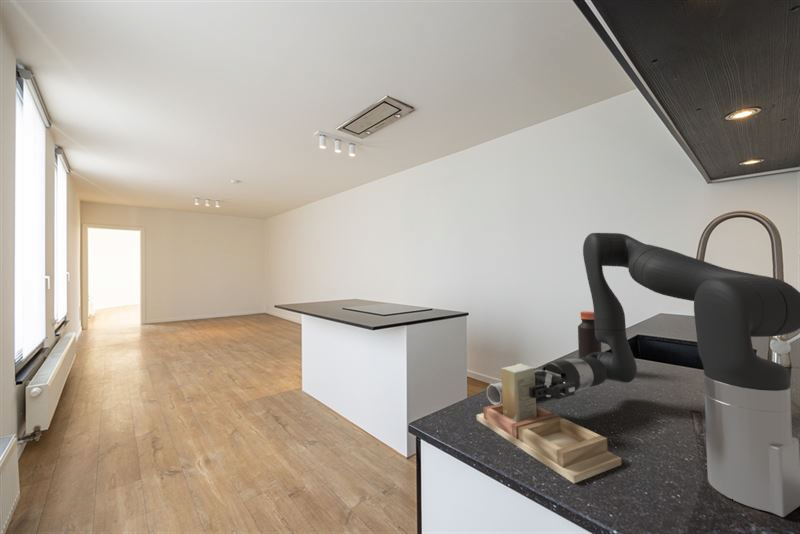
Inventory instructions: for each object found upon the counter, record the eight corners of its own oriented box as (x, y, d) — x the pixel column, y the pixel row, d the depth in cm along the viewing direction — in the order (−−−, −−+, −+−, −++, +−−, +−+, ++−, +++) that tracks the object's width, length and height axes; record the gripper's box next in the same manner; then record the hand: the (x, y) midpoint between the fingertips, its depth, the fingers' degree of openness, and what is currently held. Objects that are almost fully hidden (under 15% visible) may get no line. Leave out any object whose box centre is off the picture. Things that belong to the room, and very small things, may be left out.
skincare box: (522, 415, 77) (520, 362, 77) (537, 422, 73) (536, 367, 73) (501, 421, 74) (500, 366, 74) (516, 429, 70) (515, 371, 70)
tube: (545, 381, 101) (484, 397, 89) (550, 366, 100) (489, 380, 87) (560, 392, 97) (498, 410, 84) (566, 376, 95) (503, 392, 83)
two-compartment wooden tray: (621, 464, 59) (620, 443, 59) (574, 483, 54) (573, 460, 54) (516, 410, 83) (515, 395, 83) (476, 419, 78) (476, 404, 78)
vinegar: (583, 366, 117) (581, 310, 118) (605, 370, 112) (603, 312, 113) (576, 371, 113) (574, 312, 113) (598, 375, 108) (596, 314, 108)
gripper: (543, 353, 86) (493, 362, 80) (594, 367, 73) (540, 378, 67) (544, 382, 86) (494, 393, 80) (595, 401, 73) (541, 416, 67)
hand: (515, 386), depth 73 cm, fingers open, 8 cm apart
